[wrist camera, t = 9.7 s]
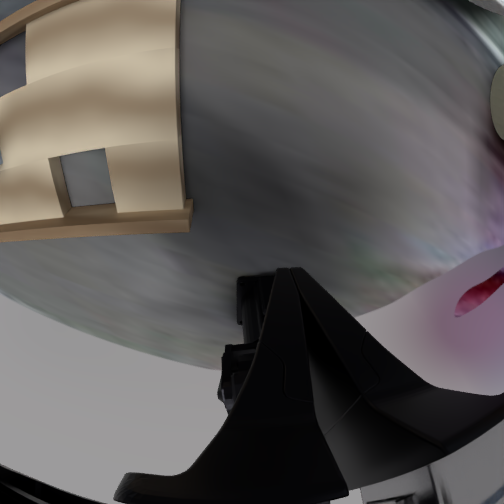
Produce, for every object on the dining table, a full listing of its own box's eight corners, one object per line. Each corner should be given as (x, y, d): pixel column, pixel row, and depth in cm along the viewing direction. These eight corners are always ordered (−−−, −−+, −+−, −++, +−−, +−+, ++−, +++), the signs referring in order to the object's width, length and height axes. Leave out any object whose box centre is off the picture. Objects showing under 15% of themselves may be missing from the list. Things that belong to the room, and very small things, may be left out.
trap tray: (193, 210, 21) (189, 232, 19) (-3, 226, 19) (-18, 243, 17) (190, -29, 10) (184, -44, 8) (-36, 59, 8) (-57, 66, 6)
